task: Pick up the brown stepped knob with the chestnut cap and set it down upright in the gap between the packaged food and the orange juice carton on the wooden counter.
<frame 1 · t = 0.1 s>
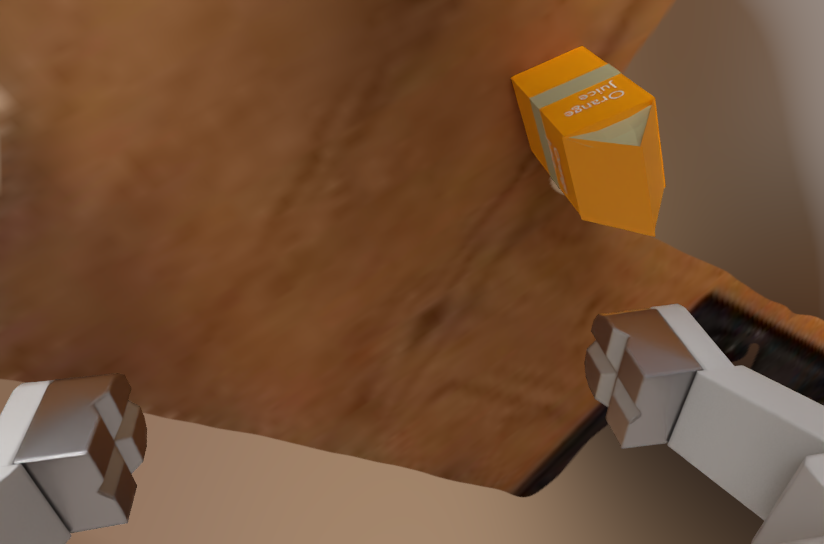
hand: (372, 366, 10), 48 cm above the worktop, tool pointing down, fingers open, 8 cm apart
orange juice: (554, 100, 60), on the worktop
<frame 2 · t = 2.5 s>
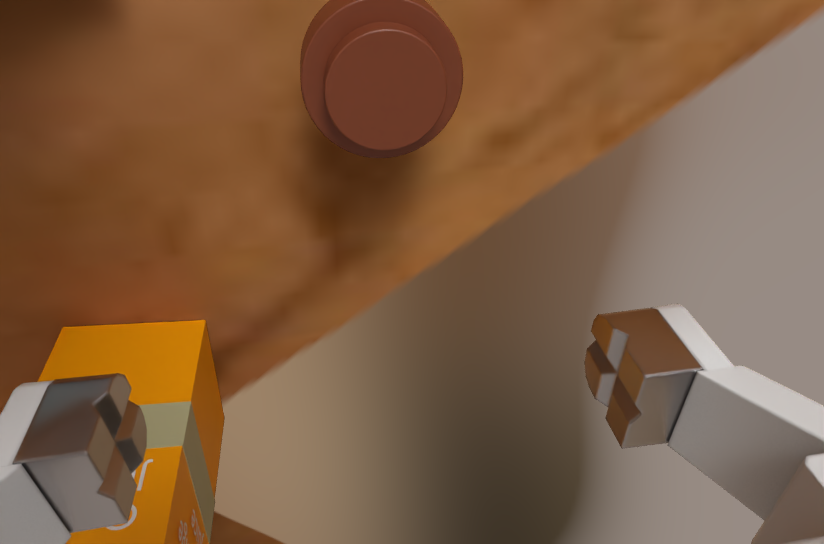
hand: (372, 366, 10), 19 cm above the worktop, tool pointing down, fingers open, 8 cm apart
brown stepped knob: (370, 44, 25), on the worktop
orange juice: (151, 374, 35), on the worktop
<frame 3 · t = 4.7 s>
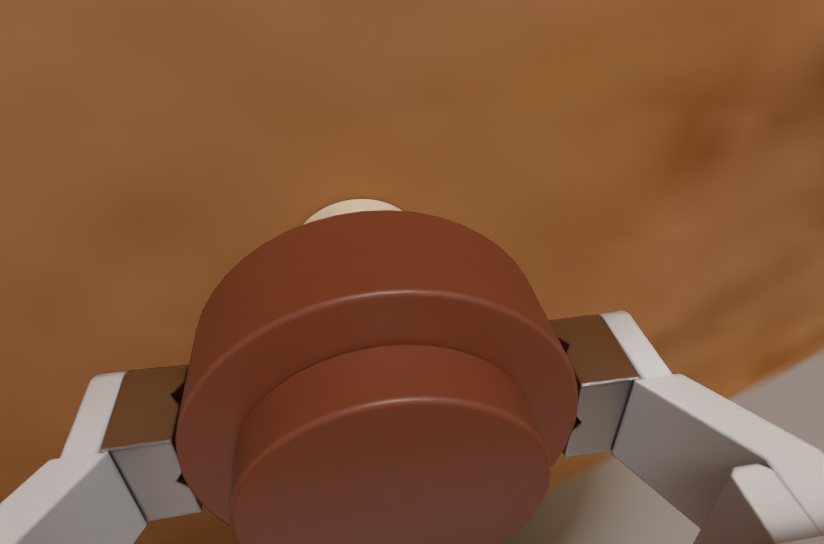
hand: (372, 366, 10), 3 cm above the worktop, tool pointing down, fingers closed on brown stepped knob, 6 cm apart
brown stepped knob: (359, 258, 13), on the worktop, touching gripper
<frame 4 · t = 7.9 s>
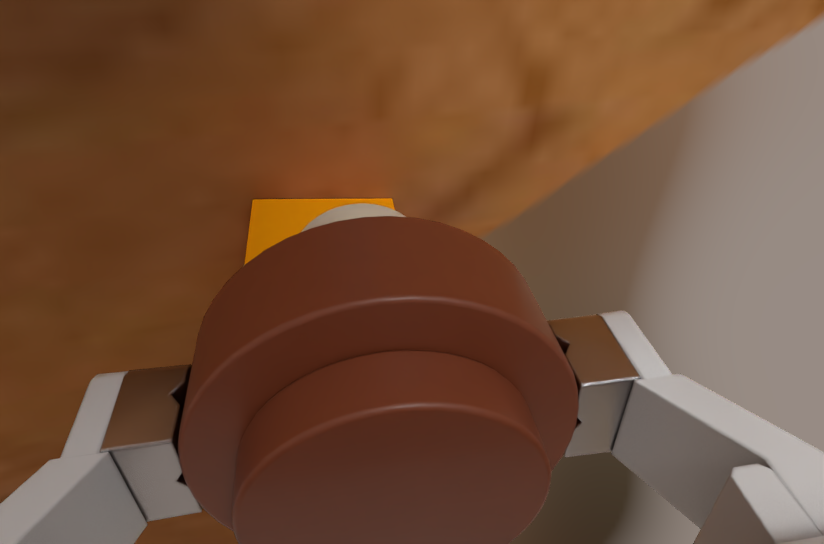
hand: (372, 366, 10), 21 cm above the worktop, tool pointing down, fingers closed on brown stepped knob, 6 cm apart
brown stepped knob: (359, 262, 13), point 18 cm above the worktop, touching gripper
orange juice: (323, 261, 34), on the worktop
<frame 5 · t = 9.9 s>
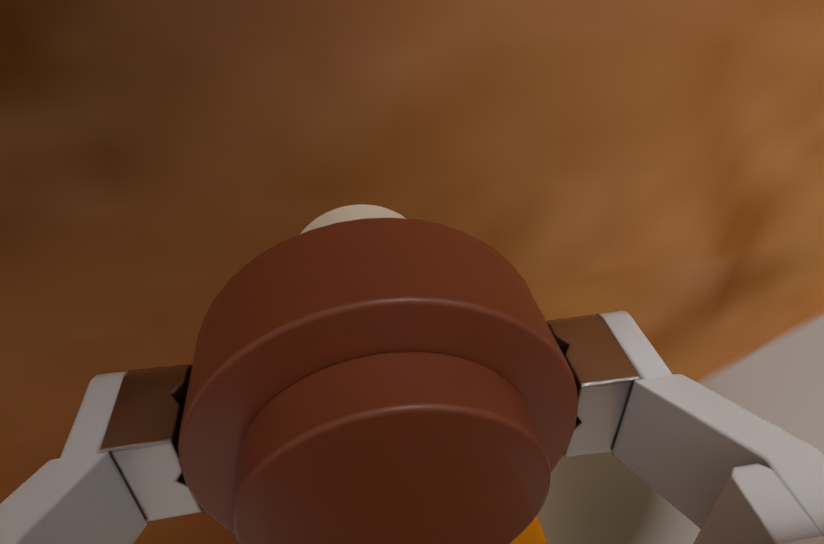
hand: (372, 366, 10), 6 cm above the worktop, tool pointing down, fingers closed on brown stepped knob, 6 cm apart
brown stepped knob: (359, 263, 13), point 3 cm above the worktop, touching gripper
orange juice: (380, 468, 22), on the worktop
when the fingers open (3 cm above the worktop, at t = 11.4 s): brown stepped knob stays where it is, on the worktop.
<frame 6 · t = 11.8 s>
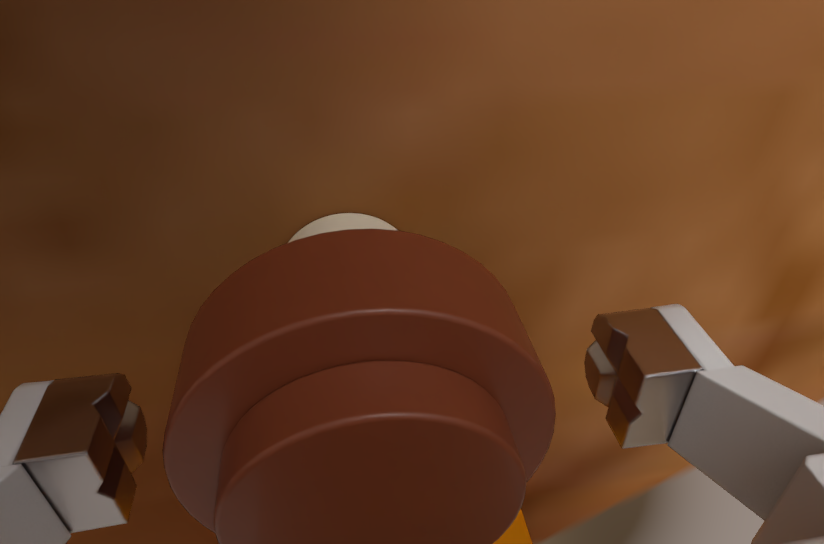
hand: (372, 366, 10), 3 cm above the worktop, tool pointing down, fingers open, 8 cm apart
brown stepped knob: (347, 270, 13), on the worktop
orange juice: (379, 542, 20), on the worktop
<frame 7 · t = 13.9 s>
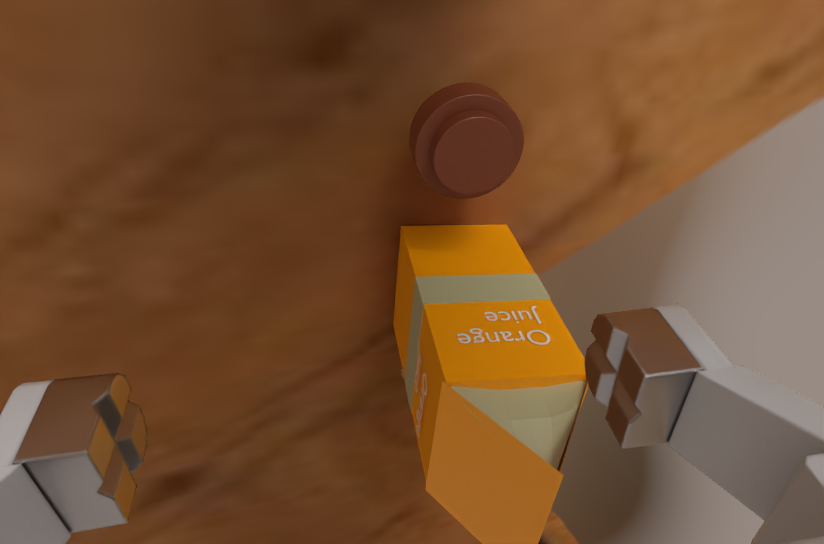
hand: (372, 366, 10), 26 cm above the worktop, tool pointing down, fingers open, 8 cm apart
brown stepped knob: (450, 116, 35), on the worktop
orange juice: (446, 275, 42), on the worktop
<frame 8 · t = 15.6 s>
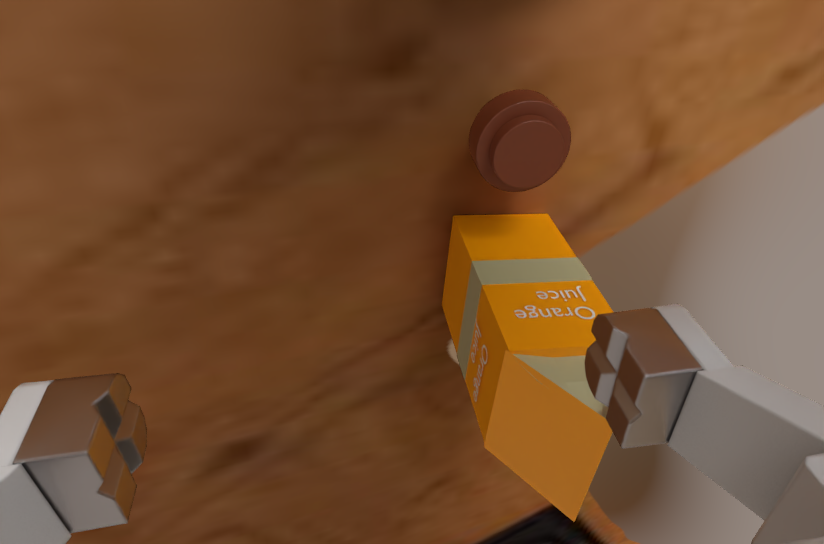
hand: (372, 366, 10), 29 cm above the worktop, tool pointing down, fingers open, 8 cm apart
brown stepped knob: (501, 117, 39), on the worktop
orange juice: (491, 259, 47), on the worktop
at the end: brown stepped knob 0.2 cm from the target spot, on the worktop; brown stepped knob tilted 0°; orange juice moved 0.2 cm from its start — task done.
